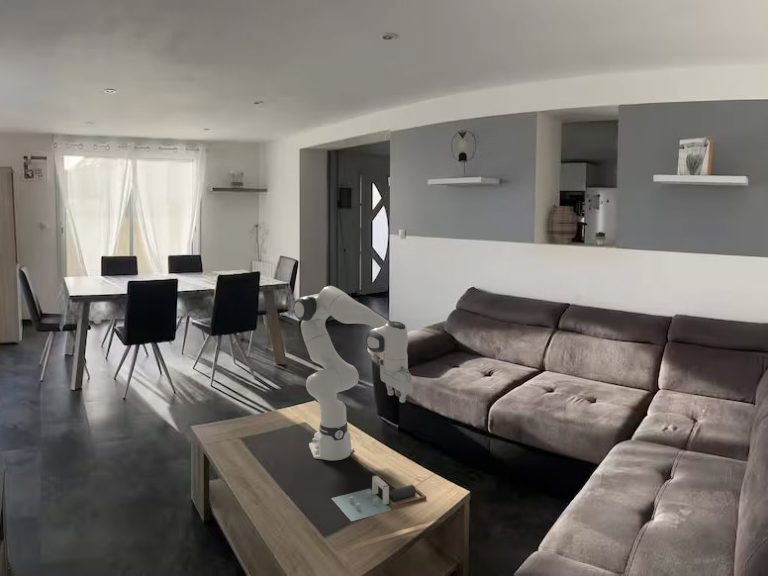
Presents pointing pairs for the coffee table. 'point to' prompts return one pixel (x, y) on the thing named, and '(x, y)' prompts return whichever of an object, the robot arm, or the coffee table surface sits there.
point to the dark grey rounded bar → (402, 492)
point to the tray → (421, 498)
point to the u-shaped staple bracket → (379, 482)
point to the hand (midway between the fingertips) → (396, 398)
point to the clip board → (360, 504)
